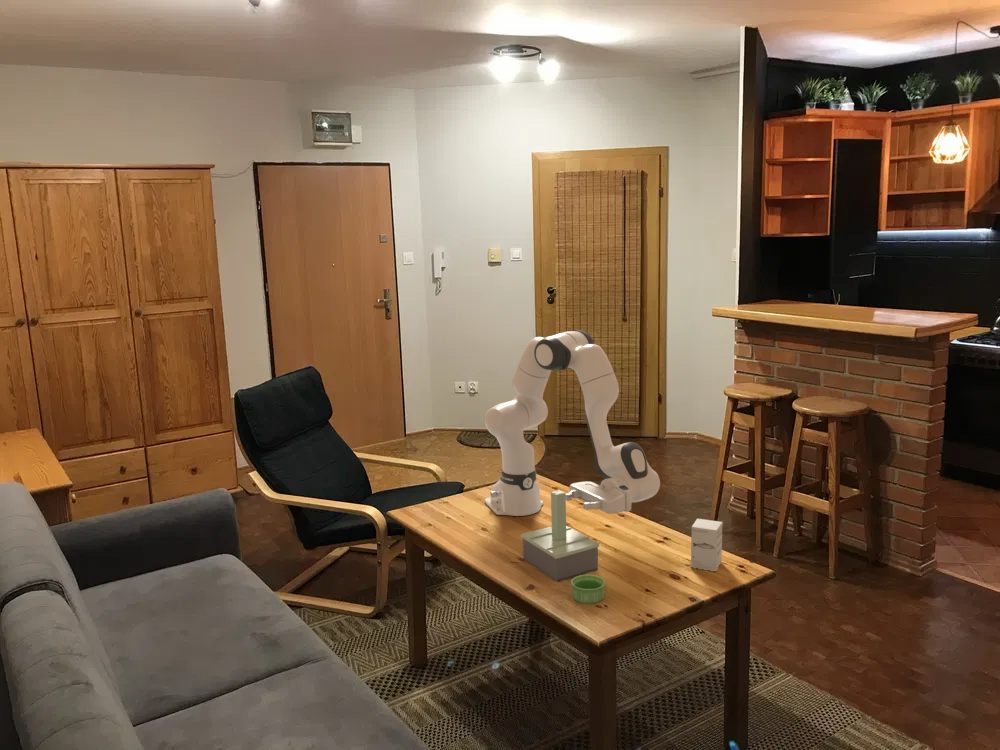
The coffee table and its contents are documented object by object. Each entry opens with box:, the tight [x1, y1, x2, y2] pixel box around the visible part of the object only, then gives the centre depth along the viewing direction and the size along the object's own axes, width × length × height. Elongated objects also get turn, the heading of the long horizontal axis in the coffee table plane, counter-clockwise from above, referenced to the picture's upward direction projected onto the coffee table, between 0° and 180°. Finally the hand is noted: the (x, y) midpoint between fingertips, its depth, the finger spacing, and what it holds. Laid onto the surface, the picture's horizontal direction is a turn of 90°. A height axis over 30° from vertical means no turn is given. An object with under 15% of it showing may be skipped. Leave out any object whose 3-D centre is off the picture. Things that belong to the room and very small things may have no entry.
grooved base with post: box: [520, 489, 600, 559], centre depth 228 cm, size 19×15×15 cm
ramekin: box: [570, 574, 606, 605], centre depth 210 cm, size 9×9×4 cm
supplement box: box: [690, 518, 724, 572], centre depth 225 cm, size 7×7×13 cm
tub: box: [522, 538, 599, 583], centre depth 230 cm, size 18×14×7 cm
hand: (574, 502), depth 230 cm, fingers open, 8 cm apart
